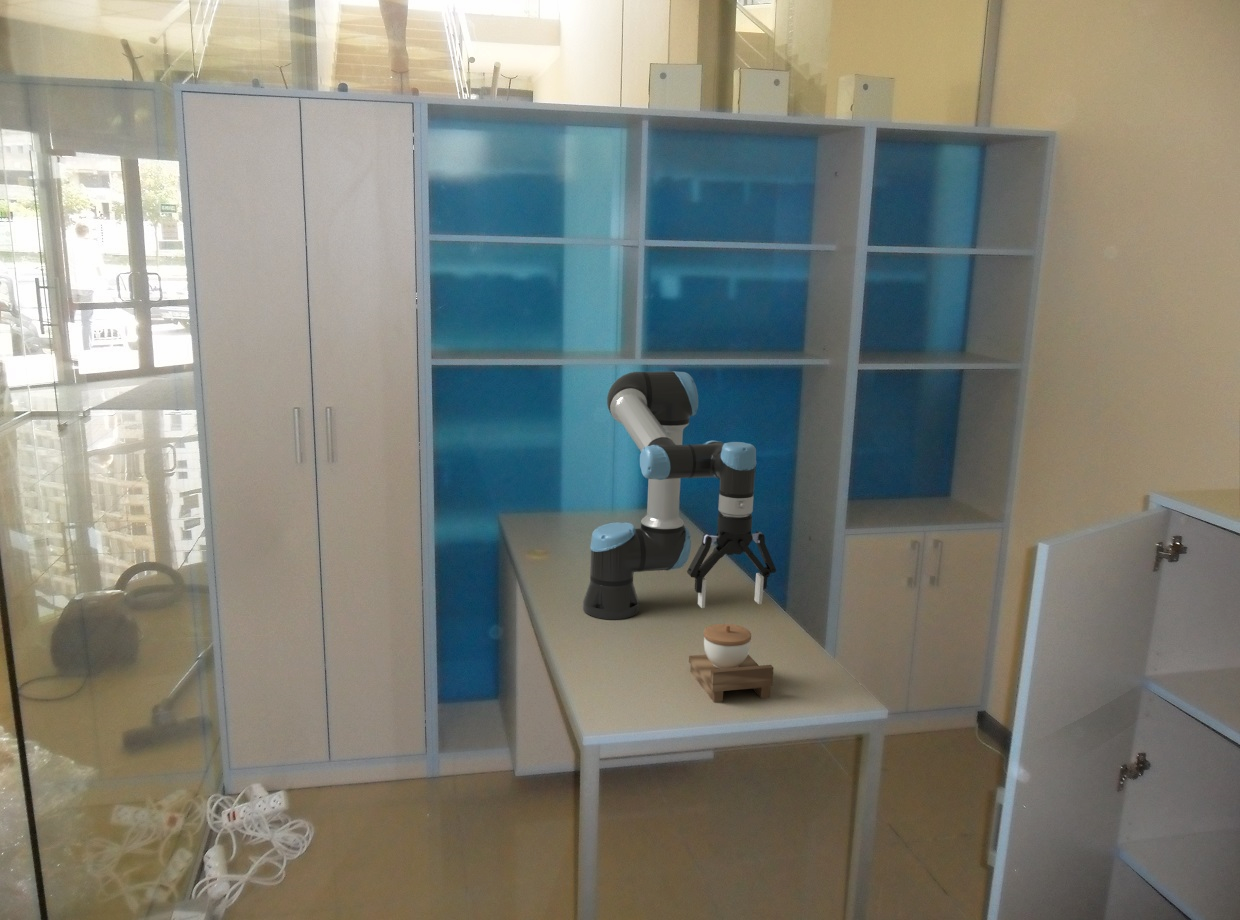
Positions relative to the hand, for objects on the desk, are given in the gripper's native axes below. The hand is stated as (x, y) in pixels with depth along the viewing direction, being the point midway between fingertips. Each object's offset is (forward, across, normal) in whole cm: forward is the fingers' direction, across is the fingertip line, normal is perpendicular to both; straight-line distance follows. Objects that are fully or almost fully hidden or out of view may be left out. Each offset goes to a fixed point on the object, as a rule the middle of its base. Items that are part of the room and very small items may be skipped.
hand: (729, 604), depth 220 cm
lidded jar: (+15, 0, 0) cm, 15 cm away
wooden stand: (+18, 0, -2) cm, 19 cm away
